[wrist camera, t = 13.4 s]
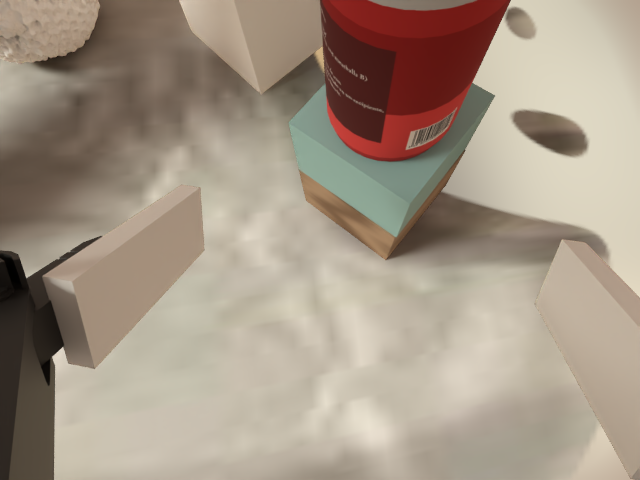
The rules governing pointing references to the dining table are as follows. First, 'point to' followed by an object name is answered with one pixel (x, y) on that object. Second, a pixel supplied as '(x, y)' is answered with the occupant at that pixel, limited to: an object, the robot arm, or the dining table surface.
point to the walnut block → (360, 223)
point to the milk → (257, 34)
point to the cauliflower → (44, 28)
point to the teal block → (380, 162)
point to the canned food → (401, 69)
